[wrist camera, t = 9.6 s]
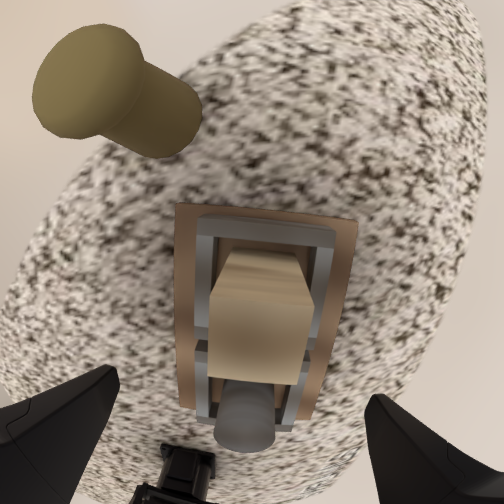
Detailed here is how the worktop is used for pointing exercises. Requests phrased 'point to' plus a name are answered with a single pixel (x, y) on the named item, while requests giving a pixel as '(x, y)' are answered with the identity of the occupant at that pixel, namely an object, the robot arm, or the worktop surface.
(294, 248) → the board
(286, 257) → the maple pin
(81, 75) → the olive green peg figure
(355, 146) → the worktop surface
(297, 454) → the worktop surface
